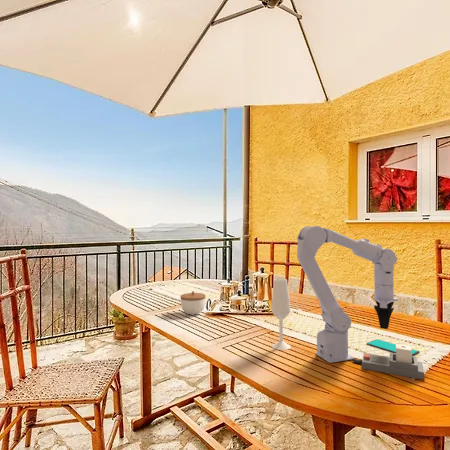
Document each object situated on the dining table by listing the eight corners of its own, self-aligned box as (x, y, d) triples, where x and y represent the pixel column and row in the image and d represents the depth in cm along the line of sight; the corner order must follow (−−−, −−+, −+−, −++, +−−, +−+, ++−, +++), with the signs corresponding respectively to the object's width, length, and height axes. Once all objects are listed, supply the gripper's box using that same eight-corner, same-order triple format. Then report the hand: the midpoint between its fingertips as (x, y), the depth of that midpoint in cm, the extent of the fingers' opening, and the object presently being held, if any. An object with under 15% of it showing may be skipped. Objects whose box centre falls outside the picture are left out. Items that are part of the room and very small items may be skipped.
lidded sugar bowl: (207, 310, 167) (207, 289, 168) (203, 317, 155) (203, 294, 155) (183, 310, 169) (183, 289, 169) (177, 316, 156) (177, 293, 156)
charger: (396, 365, 94) (395, 347, 94) (396, 360, 98) (395, 343, 98) (412, 367, 92) (411, 349, 92) (411, 362, 96) (411, 345, 96)
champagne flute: (270, 343, 119) (270, 278, 119) (289, 343, 119) (288, 278, 119) (273, 350, 112) (272, 281, 112) (292, 350, 112) (291, 281, 112)
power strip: (351, 366, 98) (351, 355, 98) (354, 357, 105) (354, 346, 105) (424, 379, 89) (424, 367, 89) (422, 368, 96) (421, 357, 96)
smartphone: (409, 356, 105) (366, 343, 117) (409, 358, 104) (366, 345, 117) (420, 351, 109) (377, 338, 121) (420, 353, 109) (377, 341, 121)
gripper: (397, 288, 99) (398, 333, 99) (397, 281, 112) (397, 320, 111) (372, 287, 102) (373, 330, 102) (374, 280, 115) (375, 318, 115)
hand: (384, 325), depth 107 cm, fingers open, 7 cm apart
